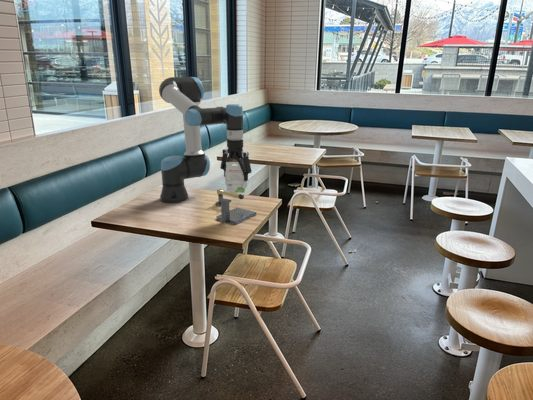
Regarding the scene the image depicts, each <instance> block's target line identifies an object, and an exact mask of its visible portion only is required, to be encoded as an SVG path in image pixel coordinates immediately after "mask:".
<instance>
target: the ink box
mask: <svg viewBox="0 0 533 400" xmlns="http://www.w3.org/2000/svg"><path fill="white" fill-rule="evenodd" d="M242 163H243V162H242ZM242 174H243V172H242V169H241V167H240V165H239V162H238V161H232V162H226V185H225V186H226V191H227V192H233V193H239V194H243V193H245V191H246V188H242Z"/></svg>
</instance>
